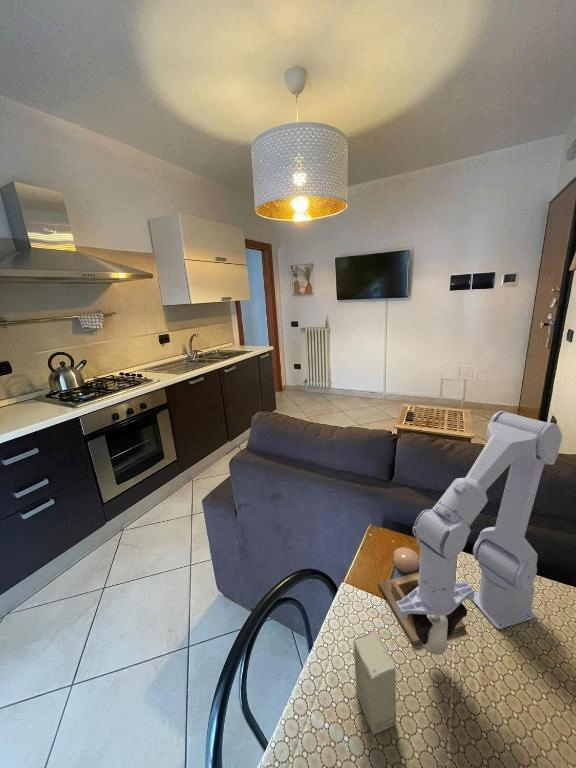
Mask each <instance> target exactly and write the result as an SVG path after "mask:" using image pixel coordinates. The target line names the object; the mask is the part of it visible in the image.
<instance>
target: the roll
mask: <svg viewBox="0 0 576 768" xmlns="http://www.w3.org/2000/svg"><path fill="white" fill-rule="evenodd" d="M427 617H428V618H429V620H430V621H431V623H432V624H433V626H432V627H431V629H430V631H429V634H428V642H427V644H425V645H423V644H422V643H421V645H422V647H423V648H424V649H425V651H427V652H428V653H430V654H431V655H435V656H441V655H443V654H444V653H445V652H446V650H447V640H448V637H447V628H448V619H447V617H446V615H445V616H439V615H427Z"/></svg>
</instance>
